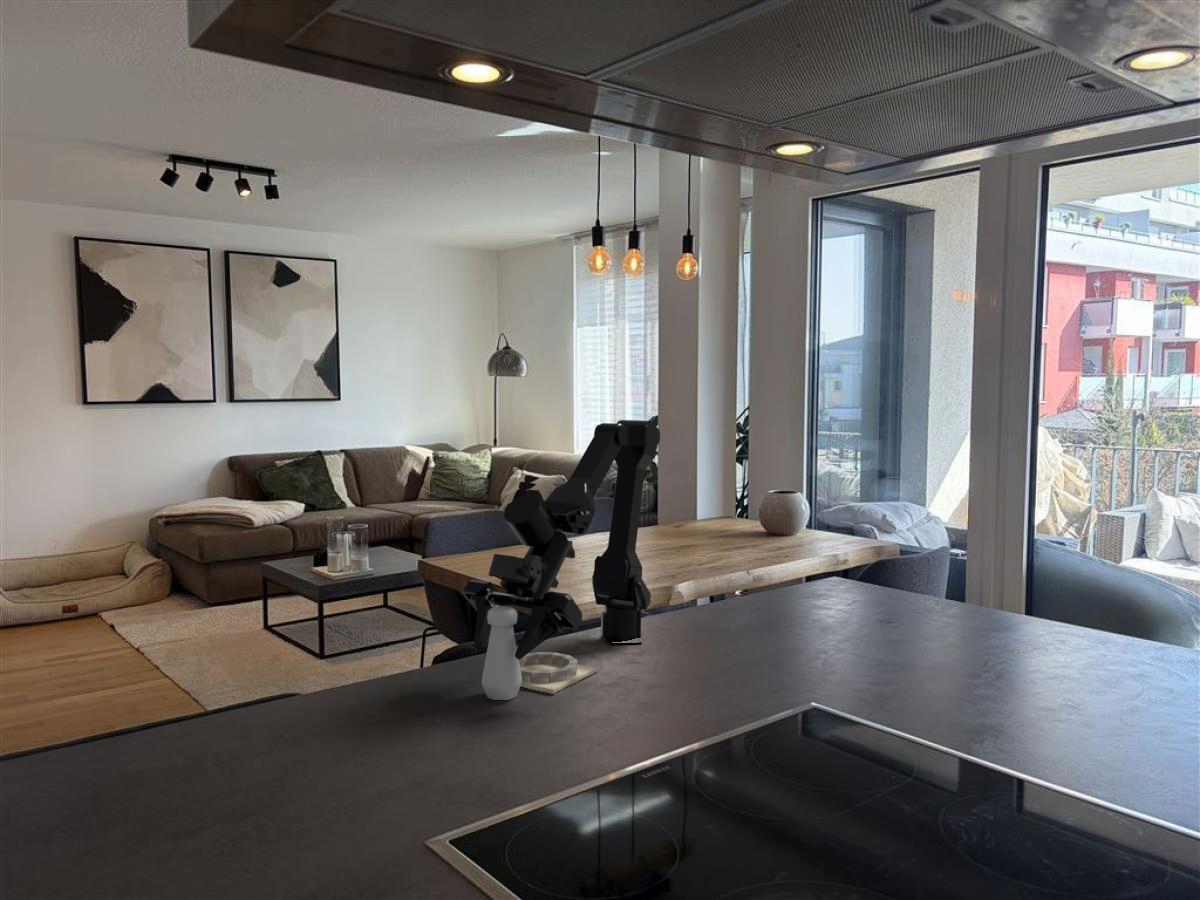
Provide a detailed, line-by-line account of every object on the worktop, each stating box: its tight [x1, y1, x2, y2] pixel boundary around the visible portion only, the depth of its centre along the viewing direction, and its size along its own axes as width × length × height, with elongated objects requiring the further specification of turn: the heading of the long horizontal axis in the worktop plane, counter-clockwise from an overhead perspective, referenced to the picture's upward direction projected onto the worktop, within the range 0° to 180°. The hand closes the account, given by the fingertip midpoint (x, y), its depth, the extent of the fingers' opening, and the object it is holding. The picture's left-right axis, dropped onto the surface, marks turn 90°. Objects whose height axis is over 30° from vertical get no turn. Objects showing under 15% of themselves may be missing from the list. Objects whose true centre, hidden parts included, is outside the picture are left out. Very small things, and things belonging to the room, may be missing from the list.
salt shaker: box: [481, 606, 522, 701], centre depth 126 cm, size 6×6×13 cm
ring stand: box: [519, 651, 598, 693], centre depth 135 cm, size 12×12×2 cm
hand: (496, 653), depth 124 cm, fingers open, 7 cm apart
